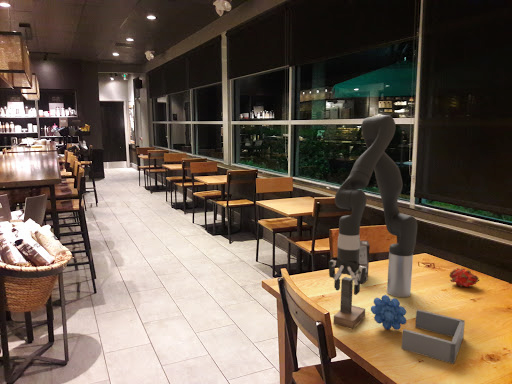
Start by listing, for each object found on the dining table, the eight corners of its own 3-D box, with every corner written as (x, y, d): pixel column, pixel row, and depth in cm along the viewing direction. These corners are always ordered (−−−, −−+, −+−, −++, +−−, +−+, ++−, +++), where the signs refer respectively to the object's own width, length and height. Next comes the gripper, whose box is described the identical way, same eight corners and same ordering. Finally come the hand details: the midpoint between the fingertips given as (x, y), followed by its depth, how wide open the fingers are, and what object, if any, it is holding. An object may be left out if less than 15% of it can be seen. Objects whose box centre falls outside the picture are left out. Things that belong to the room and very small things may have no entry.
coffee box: (368, 280, 183) (370, 245, 181) (353, 279, 185) (355, 244, 182) (367, 273, 192) (368, 240, 190) (353, 272, 193) (354, 239, 191)
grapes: (369, 332, 135) (371, 298, 134) (369, 323, 142) (371, 290, 140) (406, 337, 132) (409, 302, 130) (405, 328, 139) (407, 294, 137)
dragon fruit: (445, 286, 181) (475, 294, 177) (449, 281, 174) (480, 289, 170) (448, 268, 184) (477, 275, 180) (452, 262, 177) (483, 270, 173)
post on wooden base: (346, 311, 151) (348, 273, 149) (364, 316, 148) (367, 277, 145) (333, 324, 142) (335, 282, 139) (352, 329, 138) (354, 287, 136)
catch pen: (416, 325, 141) (417, 309, 140) (463, 337, 132) (464, 320, 132) (401, 348, 126) (402, 330, 125) (453, 364, 117) (455, 344, 117)
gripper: (372, 247, 141) (370, 293, 143) (333, 240, 149) (332, 284, 151) (365, 252, 134) (362, 300, 137) (324, 245, 142) (323, 290, 145)
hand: (346, 291), depth 144 cm, fingers open, 6 cm apart
